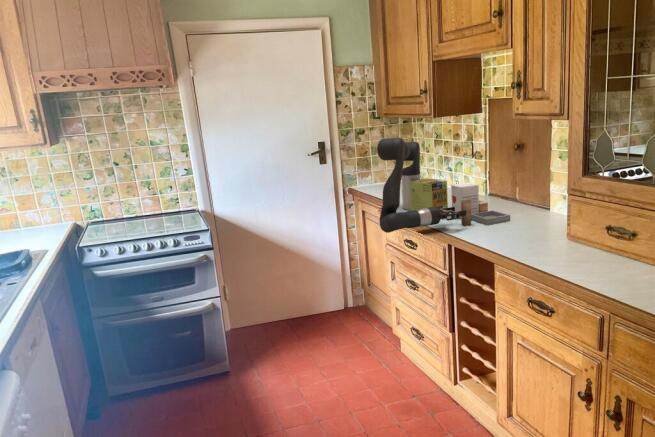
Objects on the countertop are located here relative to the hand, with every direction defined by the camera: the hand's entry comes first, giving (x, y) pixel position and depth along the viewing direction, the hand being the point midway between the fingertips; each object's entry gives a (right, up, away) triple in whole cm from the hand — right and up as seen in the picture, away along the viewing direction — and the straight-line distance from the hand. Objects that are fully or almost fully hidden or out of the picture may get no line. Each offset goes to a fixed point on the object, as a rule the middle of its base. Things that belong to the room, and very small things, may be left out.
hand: (460, 211), depth 220 cm
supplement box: (+7, -2, +16) cm, 18 cm away
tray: (+15, -4, +6) cm, 16 cm away
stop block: (+13, -1, +18) cm, 22 cm away
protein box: (-7, 0, +31) cm, 32 cm away
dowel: (+3, -6, +2) cm, 7 cm away
